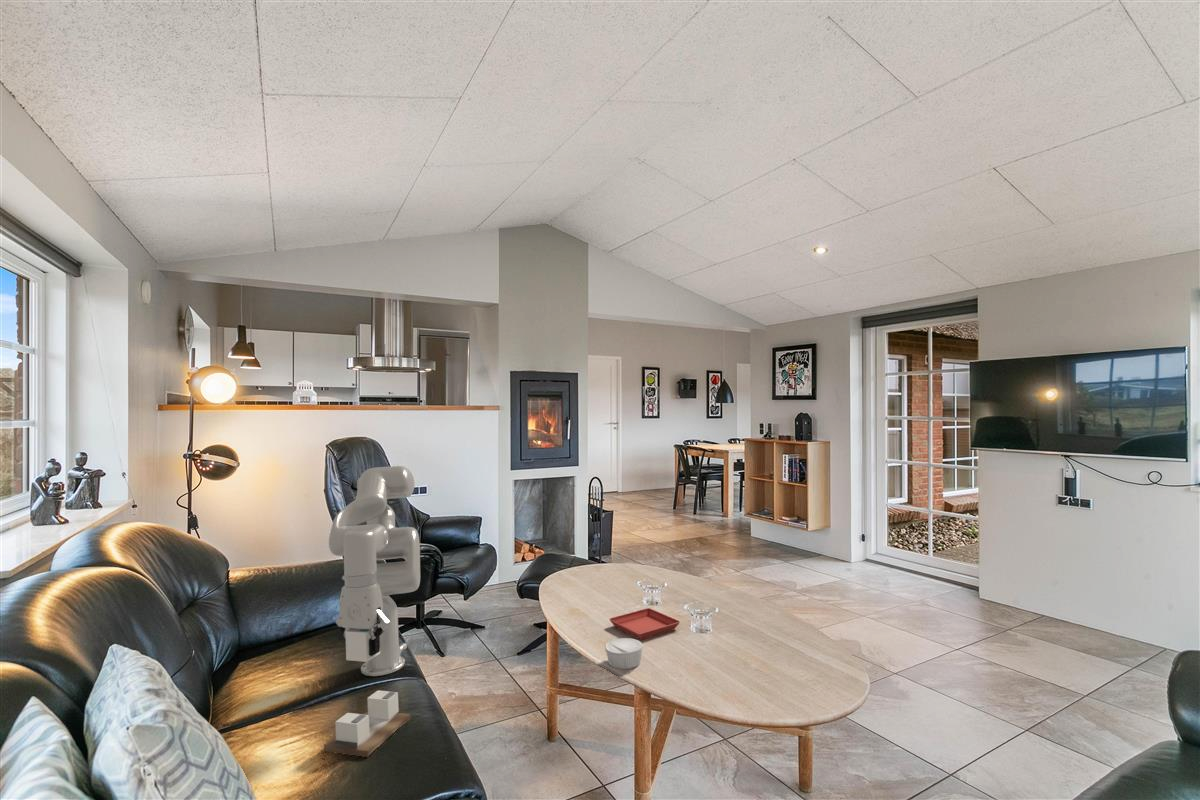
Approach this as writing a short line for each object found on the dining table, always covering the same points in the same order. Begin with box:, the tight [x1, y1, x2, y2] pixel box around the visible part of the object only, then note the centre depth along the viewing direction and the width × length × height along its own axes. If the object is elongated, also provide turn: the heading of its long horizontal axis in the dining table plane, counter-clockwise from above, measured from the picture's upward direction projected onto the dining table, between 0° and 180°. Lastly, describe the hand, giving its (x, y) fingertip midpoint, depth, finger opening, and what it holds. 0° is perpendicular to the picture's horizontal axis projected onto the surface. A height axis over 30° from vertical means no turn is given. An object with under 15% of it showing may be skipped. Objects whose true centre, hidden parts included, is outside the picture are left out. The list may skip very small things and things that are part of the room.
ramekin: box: [604, 637, 644, 670], centre depth 171 cm, size 11×11×5 cm
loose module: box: [344, 628, 380, 663], centre depth 142 cm, size 5×6×7 cm
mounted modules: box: [334, 689, 400, 746], centre depth 138 cm, size 15×6×5 cm, turn 164°
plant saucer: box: [609, 607, 681, 641], centre depth 197 cm, size 18×18×3 cm
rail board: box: [323, 710, 411, 756], centre depth 138 cm, size 16×12×3 cm
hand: (363, 652), depth 142 cm, fingers closed on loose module, 6 cm apart
